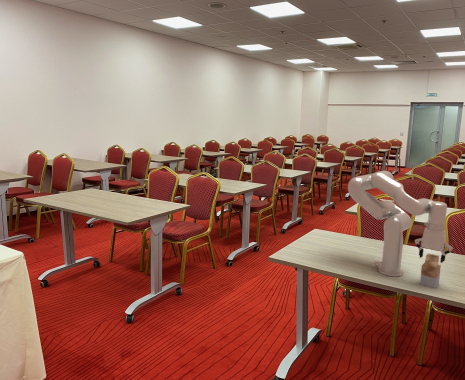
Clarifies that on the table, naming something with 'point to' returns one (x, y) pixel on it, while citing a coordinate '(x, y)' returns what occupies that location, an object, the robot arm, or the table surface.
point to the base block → (429, 281)
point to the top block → (430, 271)
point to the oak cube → (432, 260)
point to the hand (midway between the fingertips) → (431, 259)
